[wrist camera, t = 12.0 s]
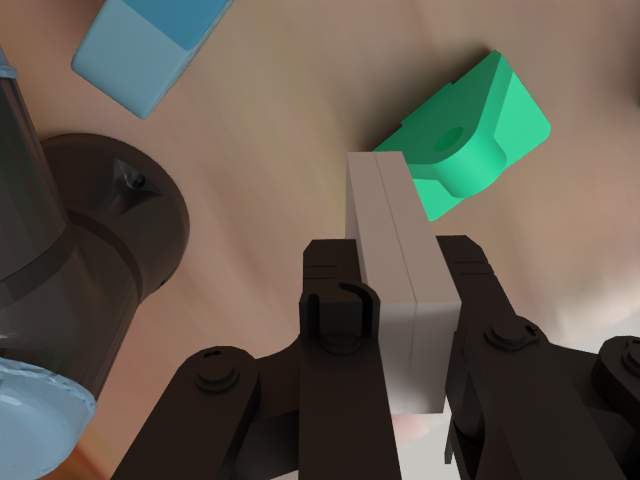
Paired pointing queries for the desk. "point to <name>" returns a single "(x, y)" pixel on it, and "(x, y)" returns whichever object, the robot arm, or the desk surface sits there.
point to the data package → (144, 47)
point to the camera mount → (468, 134)
